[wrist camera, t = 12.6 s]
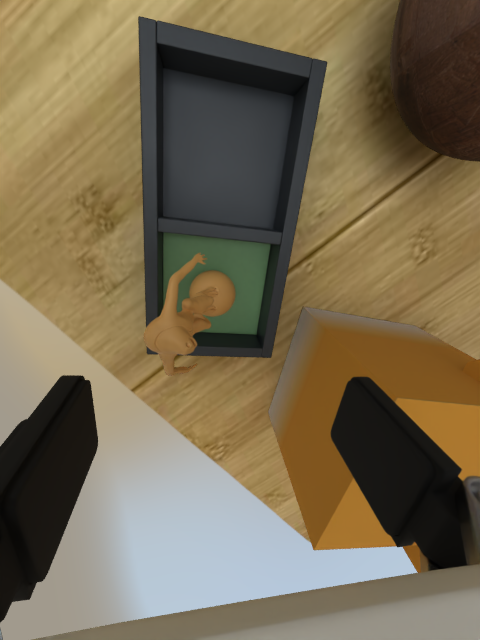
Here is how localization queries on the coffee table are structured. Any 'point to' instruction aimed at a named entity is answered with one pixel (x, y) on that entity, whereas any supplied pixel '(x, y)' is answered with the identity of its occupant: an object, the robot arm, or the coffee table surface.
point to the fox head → (397, 382)
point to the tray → (223, 173)
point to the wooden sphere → (439, 74)
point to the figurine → (188, 314)
